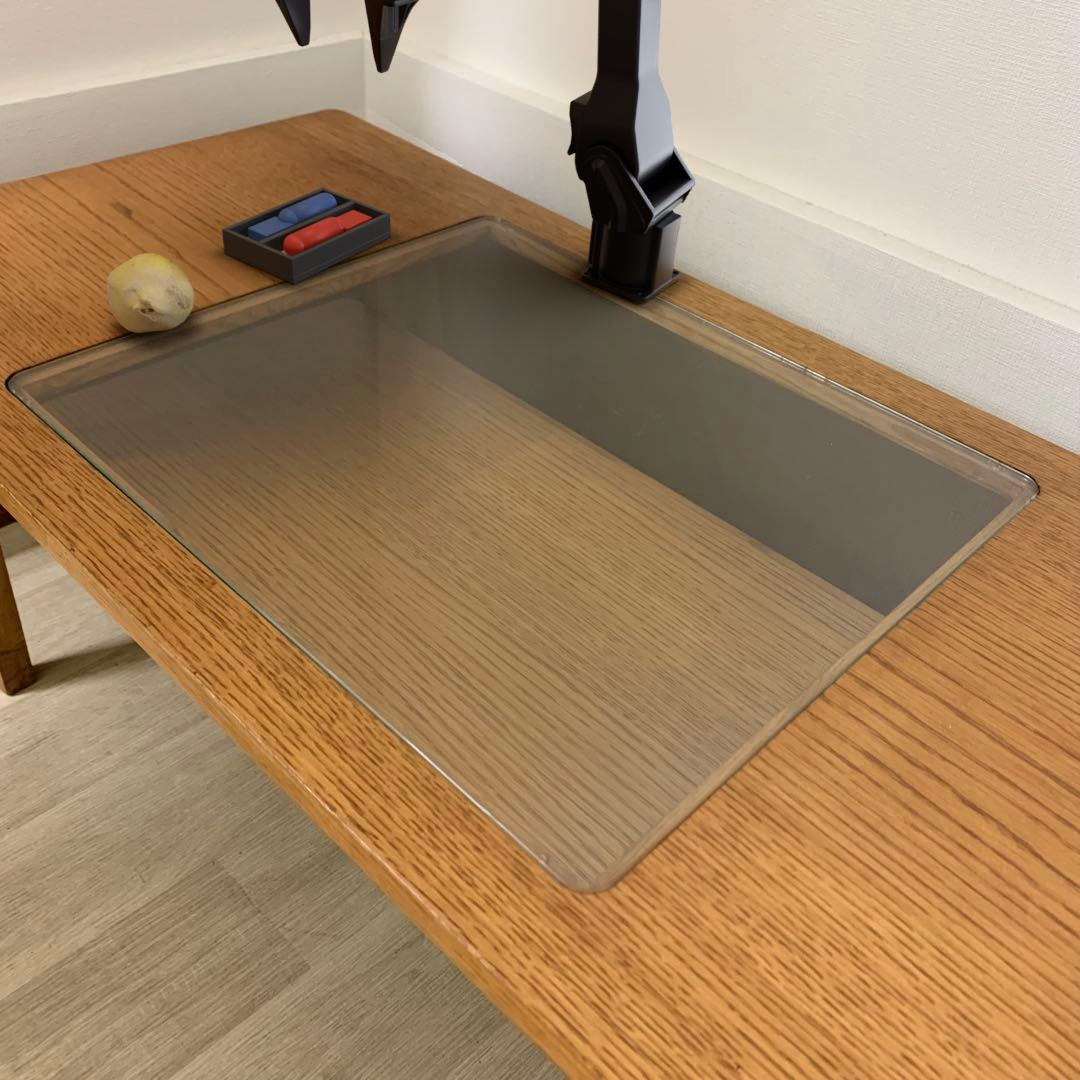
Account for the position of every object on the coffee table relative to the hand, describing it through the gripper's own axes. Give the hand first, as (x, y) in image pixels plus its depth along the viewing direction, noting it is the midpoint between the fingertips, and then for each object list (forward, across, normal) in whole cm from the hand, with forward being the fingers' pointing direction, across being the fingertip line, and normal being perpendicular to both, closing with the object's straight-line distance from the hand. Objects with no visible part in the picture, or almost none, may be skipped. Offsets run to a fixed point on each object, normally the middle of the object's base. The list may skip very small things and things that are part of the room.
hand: (342, 58), depth 99 cm
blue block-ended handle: (+11, -4, +11) cm, 16 cm away
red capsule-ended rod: (+11, -8, +11) cm, 17 cm away
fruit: (+12, -6, +28) cm, 31 cm away
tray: (+12, -6, +11) cm, 17 cm away
